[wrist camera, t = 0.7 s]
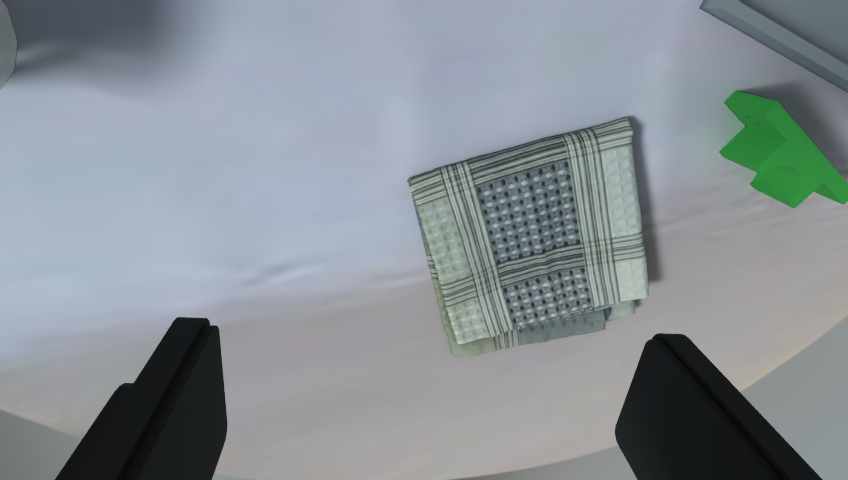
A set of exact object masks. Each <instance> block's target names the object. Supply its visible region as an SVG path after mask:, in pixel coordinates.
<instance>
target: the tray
mask: <svg viewBox="0 0 848 480" xmlns="http://www.w3.org/2000/svg"><path fill="white" fill-rule="evenodd" d="M700 9H702V10H704V11H705V12H707V13H709V14H711V15H712V16H714V17H716V18H718V19H719V20H721V21H723V22H725V23H726V24H728V25H730V26H732V27H733V28H735V29H737V30H739V31H741V32H742V33H744V34H746V35H748V36H749V37H751V38H753V39H755V40H756V41H758V42H760V43H762V44H763V45H765V46H767V47H769V48H770V49H772V50H774V51H776V52H777V53H779V54H781V55H783V56H784V57H786V58H788V59H790V60H791V61H793V62H795V63H797V64H798V65H800V66H802V67H804V68H805V69H807V70H809V71H811V72H812V73H814V74H816V75H818V76H819V77H821V78H823V79H825V80H827V81H828V82H830V83H832V84H834V85H835V86H837V87H839V88H841V89H842V90H844V91H846V92H848V0H704V1H703V3H702V4H701V6H700Z"/></svg>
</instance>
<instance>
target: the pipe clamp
mask: <svg viewBox="0 0 848 480" xmlns="http://www.w3.org/2000/svg"><path fill="white" fill-rule="evenodd" d="M724 103H725V104H726V105H727V107H728V108H729V109H730V110H731V111H732V112H733V113H734V114H735V115H736V116H737V118H738V119H739V120H740V121H741V122H742V123H743V124H744V125H745V127H744V128H743V129H742V130H741V131H740V132H739V133H738V134H737V135H736V136H735V137H734V138H733V139H732V140H731V141H730V142H729V143H728V144H727V145H726V146H725V147H724V148H723V149H722V150H721V151H720V152H719V153H720V154H721V155H722V156H723V157H724V158H727V159H729V160H731V161H733V162H735V163H738V164H740V165H742V166H744V167H747V168H749V169H751V170H753V171H755V172H758V173H757V175H756V177H755V178H754V180H753V181H752V182H751V183H750V184H751V185H752V186H753V188H754V189H756V190H758V191H760V192H762V193H764V194H766V195H768V196H770V197H772V198H774V199H776V200H778V201H780V202H782V203H784V204H786V205H788V206H790V207H792V208H795V207H797V206H798V205H799V204H800V203H801V202H802V201H803V200H804V199H806V198H807V197H808V196H809V195H810V194H811V193H812V192H816V193H818V194H820V195H823V196H825V197H827V198H829V199H832V200H834V201H836V202H839V203H841V204H843V205H844V204H845V203H846V202H847V201H848V183H847V182H846V181H845V180H844V178H843V177H842V176H841V175H840V174H839V173H838V171H837V170H836V169H835V168H834V167H833V166H832V164H831V163H830V162H829V161H828V160H827V159H826V157H825V156H824V155H823V154H822V153H821V152H820V150H819V149H818V148H817V147H816V146H815V144H814V143H813V142H812V141H811V140H810V139H809V137H808V136H807V135H806V134H805V133H804V132H803V130H802V129H801V128H800V127H799V126H798V125H797V123H796V122H795V121H794V120H793V119H792V118H791V116H790V115H789V114H788V113H787V112H786V111H785V109H784V108H783V107H782V106H781V105H780V103H779V102H778V101H775V100H771V99H767V98H763V97H759V96H755V95H751V94H747V93H743V92H739V91H735V92H734V93H733V94H732V95H731V96H730V97H729V98H728V99H727V100H726V101H725V102H724Z"/></svg>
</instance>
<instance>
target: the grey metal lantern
mask: <svg viewBox="0 0 848 480" xmlns="http://www.w3.org/2000/svg"><path fill="white" fill-rule="evenodd" d="M17 44H18V41H17V38H16V34H15V31H14V27H13V24H12V21H11V17H10V14H9V11H8V8H7V7H6V5H5V4H4V2H3V1H2V0H0V89H1V88H2V86H3V85H4V84H5V82H6V81H7V80H8V78H9V77H10V75H11V74H12V73H13V71H14V69H15V61H16V52H17Z"/></svg>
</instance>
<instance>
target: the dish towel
mask: <svg viewBox="0 0 848 480" xmlns="http://www.w3.org/2000/svg"><path fill="white" fill-rule="evenodd" d="M633 133H634V131H633V128H632V127H631V125H630V121H629V119H628V118H623V119H619V120H615V121H613V122H610V123H605V124H601V125H599V126H595V127H590V128H587V129H583V130H579V131H576V132H572V133H568V134H562V135H559V136H554V137H550V138H546V139H541V140H538V141H534V142H530V143H528V144H525V145H522V146H517V147H514V148H511V149H506V150H503V151H500V152H496V153H492V154H489V155H485V156H480V157H477V158H473V159H469V160H466V161H462V162H458V163H455V164H451V165H447V166H443V167H440V168H437V169H434V170H432V171H429V172H426V173H422V174H420V175H417V176H413V177H410V178H409V179H408V180H407V181H408V183H409V187H410V191H411V193H412V197H413V201H414V205H415V210H416V214H417V218H418V221H419V226H420V230H421V234H422V238H423V243H424V247H425V252H426V257H427V261H428V266H429V269H430V273H431V277H432V280H433V285H434V289H435V293H436V296H437V301H438V305H439V309H440V313H441V318H442V323H443V327H444V330H445V332H446V335H447V337H448V341H449V344H450V349H451V352H452V355H453V356H465V357H469V356H474V355H481V354H484V353H487V352H493V351H496V350H498V349H506V348H509V347H513V346H518V345H524V344H533V343H538V342H546V341H549V340H553V339H557V338H564V337H568V336H574V335H580V334H587V333H592V332H597V331H600V330H605V329H606V328H605V320H611V319H615V318H618V317H624V316H629V315H632V314H634V313H635V302H634V300H635V299H643V298H647V297H648V296H649V286H648V274H647V264H646V254H645V248H644V241H643V232H642V221H641V211H640V204H639V199H638V188H637V182H636V176H635V166H634V157H633V146H632V138H633Z"/></svg>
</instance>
